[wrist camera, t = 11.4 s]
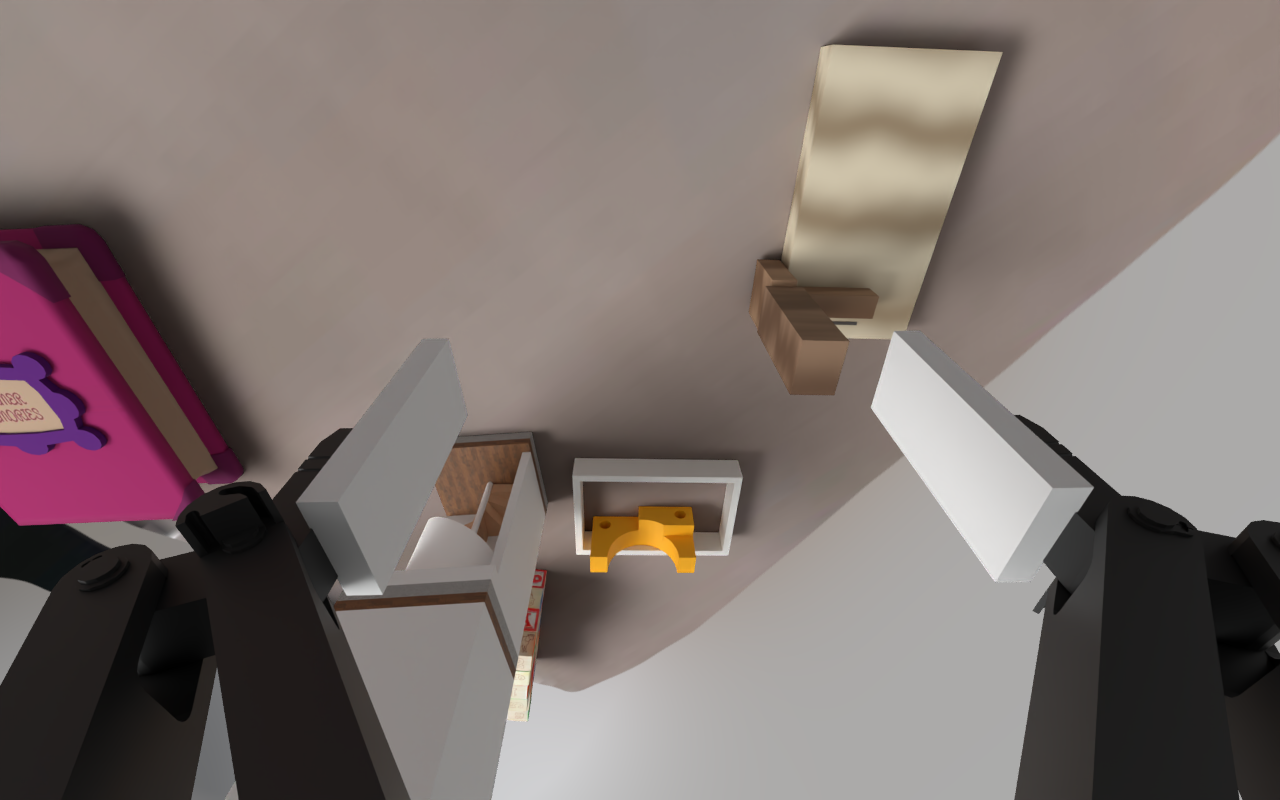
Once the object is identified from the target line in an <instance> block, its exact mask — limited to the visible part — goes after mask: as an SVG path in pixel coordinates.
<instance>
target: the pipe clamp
mask: <svg viewBox="0 0 1280 800" xmlns="http://www.w3.org/2000/svg"><path fill="white" fill-rule="evenodd" d="M693 532H694V520H693V514H692V507H651V506H639V512H638V517H613V516H593V528H592V540H591V552H590V571H591V572H607V571H608V566H609V563H610V561H611V560H612V558H613V557H614V556H615V555H616V554H617V553H618V552H620V551H621V550H623V549H625V548H628V547H631V546H636V545H647V546H652V547H655V548H658V549H660V550H662V551H664V552H665V553H666V554H667V555H669V556H670V558H671V559H672V560H673V562H674V563H675V566H676V568H677V573H694V569H695V562H696V554H695V547H694V540H693Z"/></svg>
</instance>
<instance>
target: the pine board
mask: <svg viewBox="0 0 1280 800" xmlns="http://www.w3.org/2000/svg"><path fill="white" fill-rule="evenodd" d="M1002 53H1003V52H991V51H968V50H945V49H922V48H899V47H876V46H853V45H829V46H824V47H821V50H820V55H819V60H818V66H817V71H816V76H815V82H814V87H813V93H812V98H811V103H810V109H809V114H808V119H807V125H806V130H805V135H804V141H803V146H802V151H801V157H800V162H799V168H798V173H797V178H796V184H795V189H794V194H793V200H792V205H791V210H790V216H789V221H788V226H787V232H786V237H785V243H784V248H783V253H782V259H781V262H782V263H783V265H784V266H785V267H786V268H787V269H788V270H789V271H790V273H791V274H792V275H793V276H794V277H795V278H796V279H797V286H803V287H841V288H870V289H871V290H872V291H873V292H875V293H876V294H877V295H878V296H879V299H878V303H877V306H876V309H875V312H874V316H873V319H856V318H830V319H831V320H832V322H833V323H834V324H835V325H836V326H837V327H838V329H839V330H840V331H841V332H842V333H843V334H844V336H845V337H846V338H857V339H892V336H893V332H894V331H906V329H907V326H908V323H909V320H910V317H911V314H912V312H913V309H914V306H915V303H916V300H917V297H918V294H919V291H920V289H921V286H922V283H923V280H924V277H925V274H926V271H927V268H928V266H929V263H930V260H931V257H932V254H933V251H934V248H935V245H936V243H937V240H938V237H939V234H940V231H941V228H942V225H943V222H944V220H945V217H946V214H947V211H948V208H949V205H950V202H951V199H952V197H953V194H954V191H955V188H956V185H957V182H958V179H959V176H960V174H961V171H962V168H963V165H964V162H965V159H966V156H967V154H968V151H969V148H970V145H971V142H972V139H973V136H974V133H975V131H976V128H977V125H978V122H979V119H980V116H981V113H982V110H983V108H984V105H985V102H986V99H987V96H988V93H989V90H990V87H991V85H992V82H993V79H994V76H995V73H996V70H997V67H998V64H999V62H1000V59H1001V56H1002Z"/></svg>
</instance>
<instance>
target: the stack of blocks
mask: <svg viewBox="0 0 1280 800" xmlns="http://www.w3.org/2000/svg"><path fill="white" fill-rule="evenodd" d="M546 575H547V570H538V569H535V573H534V579H533V584H532V589H531V594H530V600H529V605H528V610H527V615H526V620H525V626H524V631H523V636H522V641H521V647H520V652H519V657H518V662H517V668H516V673H515V678H514V683H513V688H512V694H511V699H510V704H509V709H508V715H507V720H510V721H528V717H529V711H530V704H531V694H532V686H533V680H534V672H535V665H536V658H537V651H538V643H539V634H540V626H541V625H540V621H541V611H542V604H543V598H544V590H545V583H546Z"/></svg>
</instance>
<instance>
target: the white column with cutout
mask: <svg viewBox="0 0 1280 800" xmlns="http://www.w3.org/2000/svg"><path fill="white" fill-rule="evenodd" d="M435 486H436V489H437V491H438V494H439V497H440V499H441V502H442V504H443V507H444V510H445V512H446V515H447V518H443V517H433V518H430V519H429V520H428V522H427V524H426V526H425V528H424V531H423V533H422V535H421V537H420V539H419V541H418V544H417V546H416V548H415V550H414V552H413V555H412V557H411V559H410V561H409V563H408V565H407V568H406V570H399V571H394V572H393V574H392V576H391V578H390V580H389V583H388V585H387V587H386V589H385V591H384V593H383V595H351V596H347V595H346V594H345V592H344V590H343V591H342V593H341V594H340V596H339V598H338V600H337V601H336V603H335V605H334V609H335V611H336V614H337V616H338V619H339V621H340V624H341V626H342V629H343V631H344V634H345V636H346V639H347V641H348V644H349V646H350V649H351V651H352V654H353V656H354V659H355V661H356V664H357V666H358V669H359V671H360V674H361V676H362V679H363V681H364V684H365V686H366V689H367V691H368V694H369V696H370V699H371V702H372V704H373V707H374V709H375V712H376V714H377V717H378V719H379V722H380V724H381V727H382V729H383V732H384V734H385V737H386V739H387V742H388V744H389V747H390V749H391V752H392V754H393V757H394V759H395V762H396V764H397V767H398V769H399V772H400V774H401V777H402V779H403V782H404V784H405V787H406V789H407V792H408V794H409V797H410V799H411V800H491V798H492V792H493V788H494V783H495V777H496V772H497V766H498V762H499V756H500V751H501V746H502V740H503V735H504V730H505V725H506V720H507V715H508V709H509V704H510V699H511V694H512V688H513V683H514V678H515V673H516V668H517V662H518V657H519V652H520V647H521V641H522V636H523V631H524V626H525V620H526V615H527V610H528V605H529V600H530V594H531V589H532V584H533V579H534V573H535V568H536V563H537V558H538V553H539V547H540V542H541V537H542V532H543V526H544V521H545V516H546V511H547V505H548V501H547V497H546V492H545V488H544V483H543V479H542V475H541V470H540V466H539V461H538V457H537V453H536V448H535V444H534V440H533V435H532V432H522V433H507V434H492V435H477V436H462V437H457V439H456V441H455V443H454V445H453V448H452V450H451V452H450V454H449V456H448V458H447V460H446V462H445V464H444V467H443V469H442V471H441V473H440V475H439V477H438V479H437V481H436V483H435ZM225 800H239V799H238V793H237V787H236V781H235V782H234V784H233V786H232V788H231V789H230V791H229V793H228V795H227V796H226V798H225Z"/></svg>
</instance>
